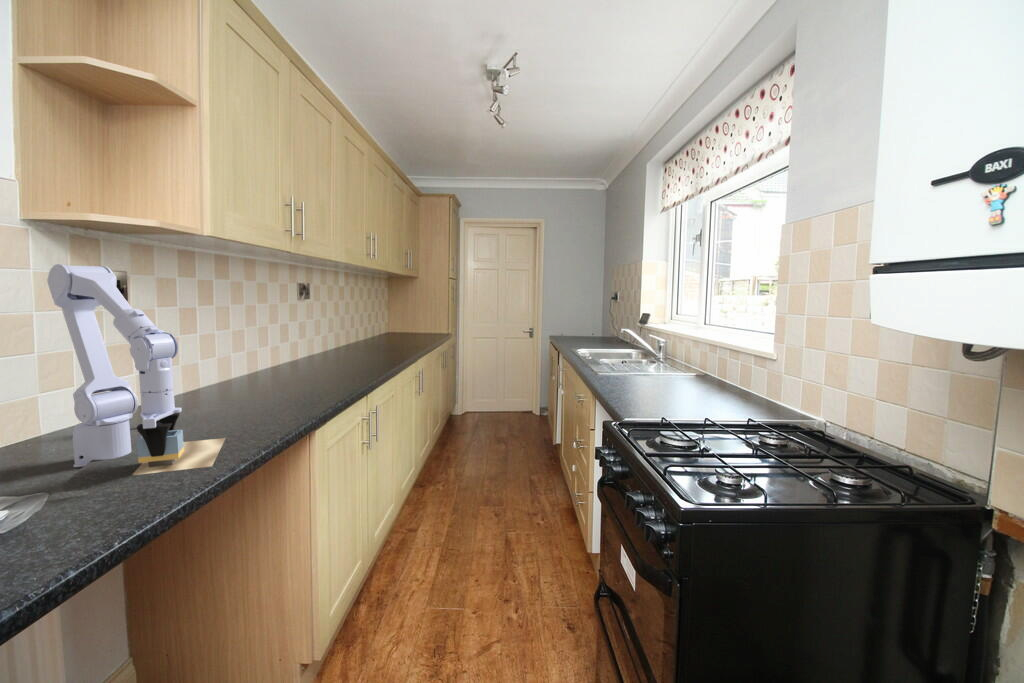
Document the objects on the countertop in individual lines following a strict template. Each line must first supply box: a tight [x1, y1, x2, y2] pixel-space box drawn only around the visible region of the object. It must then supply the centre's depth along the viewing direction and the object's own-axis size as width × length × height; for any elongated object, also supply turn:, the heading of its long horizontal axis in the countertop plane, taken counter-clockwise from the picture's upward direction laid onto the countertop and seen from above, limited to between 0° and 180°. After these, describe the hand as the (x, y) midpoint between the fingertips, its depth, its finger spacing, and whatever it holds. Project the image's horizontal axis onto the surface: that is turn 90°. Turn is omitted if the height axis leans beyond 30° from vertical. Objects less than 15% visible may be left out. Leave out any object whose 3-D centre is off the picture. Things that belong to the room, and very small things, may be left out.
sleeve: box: [136, 429, 184, 464], centre depth 101 cm, size 5×7×5 cm
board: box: [131, 437, 226, 476], centre depth 107 cm, size 14×20×5 cm
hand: (161, 451), depth 101 cm, fingers closed on sleeve, 5 cm apart
